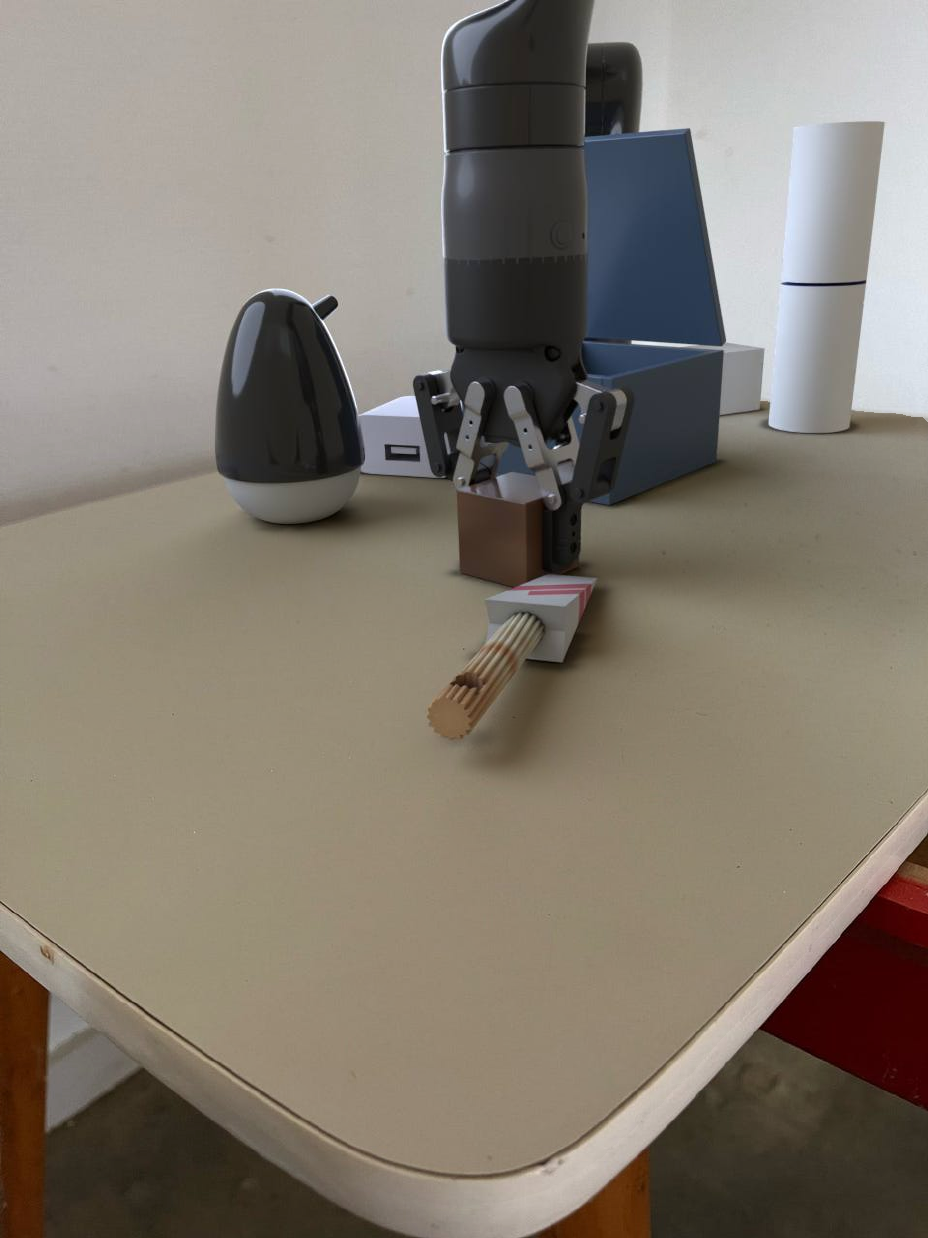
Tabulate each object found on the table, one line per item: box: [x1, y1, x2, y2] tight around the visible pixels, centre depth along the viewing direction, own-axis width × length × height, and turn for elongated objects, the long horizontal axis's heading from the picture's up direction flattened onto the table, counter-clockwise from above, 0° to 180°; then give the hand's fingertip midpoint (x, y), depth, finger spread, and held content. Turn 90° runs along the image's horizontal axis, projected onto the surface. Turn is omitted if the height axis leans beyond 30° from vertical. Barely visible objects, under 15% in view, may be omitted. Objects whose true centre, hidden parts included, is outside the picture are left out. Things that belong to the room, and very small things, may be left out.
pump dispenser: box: [214, 288, 365, 525], centre depth 68 cm, size 10×10×15 cm
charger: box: [358, 395, 462, 479], centre depth 85 cm, size 5×9×15 cm
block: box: [456, 472, 580, 588], centre depth 57 cm, size 5×5×5 cm
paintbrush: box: [426, 574, 598, 741], centre depth 46 cm, size 4×3×20 cm
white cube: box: [684, 341, 765, 416], centre depth 100 cm, size 6×6×6 cm
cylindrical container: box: [768, 120, 886, 434], centre depth 87 cm, size 7×7×25 cm
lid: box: [581, 127, 727, 346], centre depth 77 cm, size 16×14×5 cm
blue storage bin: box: [462, 341, 724, 506], centre depth 78 cm, size 16×14×9 cm
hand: (518, 558), depth 58 cm, fingers closed on block, 5 cm apart
